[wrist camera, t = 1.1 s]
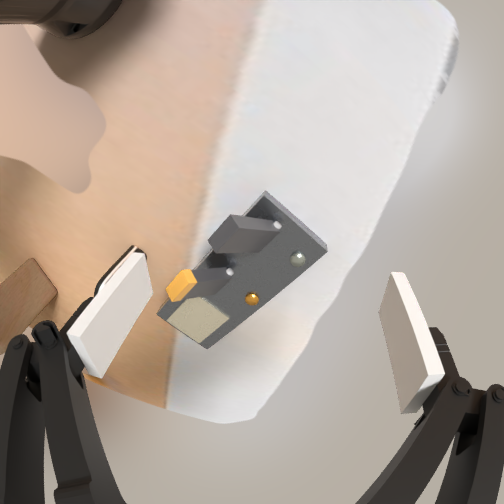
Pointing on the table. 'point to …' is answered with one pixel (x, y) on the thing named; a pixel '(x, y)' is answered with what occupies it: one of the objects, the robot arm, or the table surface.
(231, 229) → the lever
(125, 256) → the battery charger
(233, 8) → the table surface
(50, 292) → the wooden block
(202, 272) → the lever
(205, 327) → the panel
